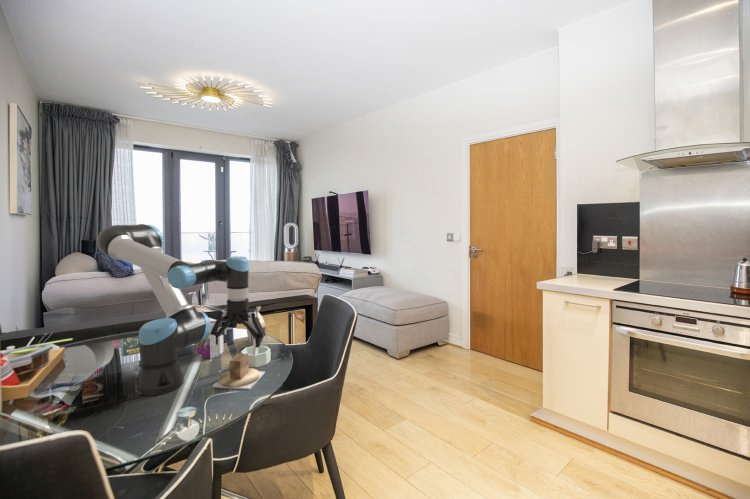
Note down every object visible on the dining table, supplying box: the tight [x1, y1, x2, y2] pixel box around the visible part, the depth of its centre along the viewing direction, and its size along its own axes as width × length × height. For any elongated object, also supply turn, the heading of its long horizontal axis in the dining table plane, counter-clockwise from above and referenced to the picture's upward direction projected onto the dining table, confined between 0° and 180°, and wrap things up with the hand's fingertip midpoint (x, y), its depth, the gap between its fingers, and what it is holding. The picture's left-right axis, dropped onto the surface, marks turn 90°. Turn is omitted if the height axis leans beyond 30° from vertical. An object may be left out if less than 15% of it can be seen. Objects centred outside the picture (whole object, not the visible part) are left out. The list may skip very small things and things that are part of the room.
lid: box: [218, 353, 259, 387], centre depth 137 cm, size 14×14×8 cm
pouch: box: [246, 305, 266, 347], centre depth 173 cm, size 25×8×19 cm, turn 13°
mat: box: [211, 370, 266, 390], centre depth 137 cm, size 14×14×1 cm
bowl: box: [240, 345, 272, 368], centre depth 154 cm, size 11×11×5 cm
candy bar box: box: [194, 317, 221, 360], centre depth 159 cm, size 11×5×16 cm, turn 58°
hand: (238, 354), depth 136 cm, fingers open, 13 cm apart
